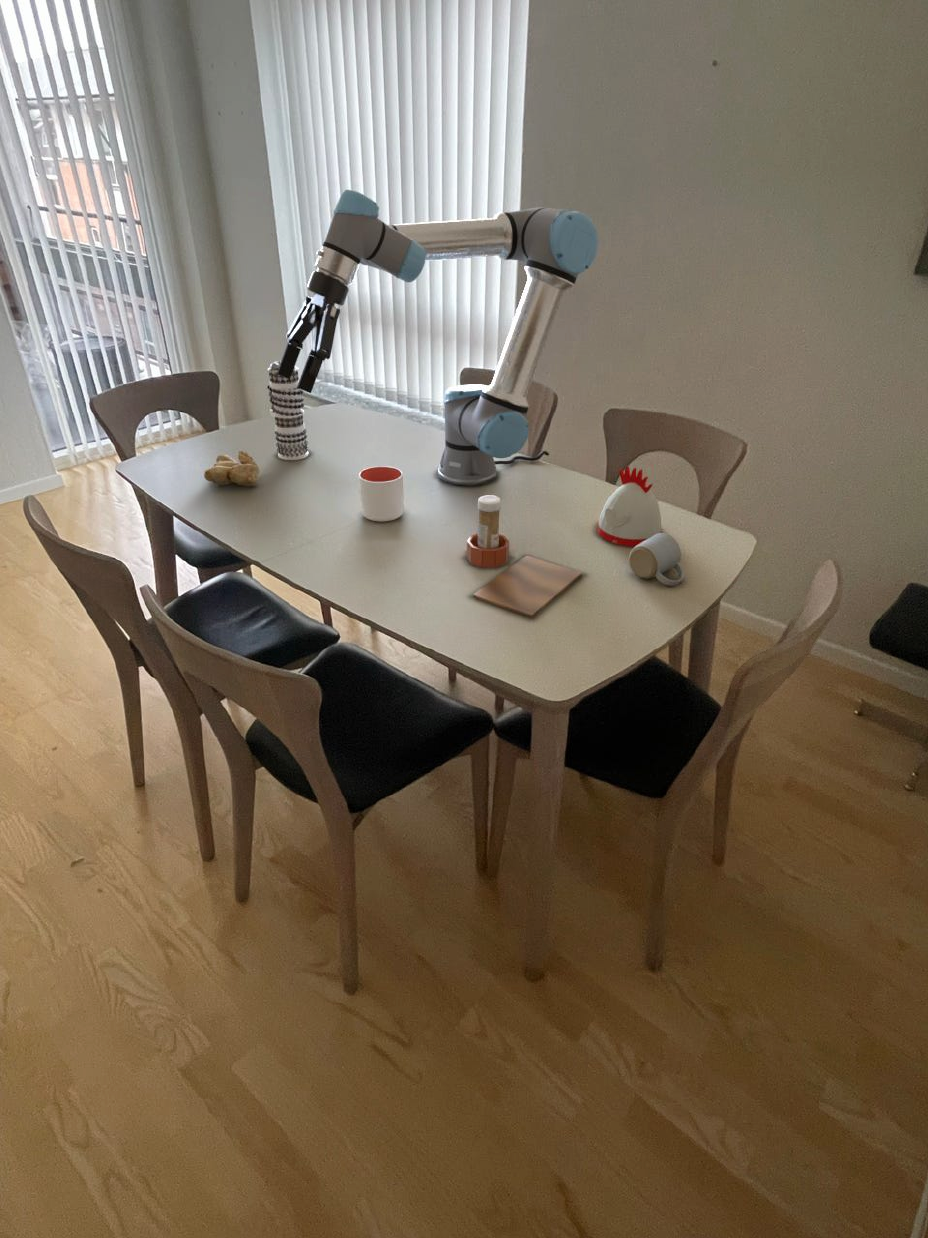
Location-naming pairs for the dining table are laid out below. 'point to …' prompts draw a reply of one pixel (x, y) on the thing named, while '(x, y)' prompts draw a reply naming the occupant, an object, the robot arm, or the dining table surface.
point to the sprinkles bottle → (488, 522)
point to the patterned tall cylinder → (287, 414)
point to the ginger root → (233, 470)
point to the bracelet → (487, 553)
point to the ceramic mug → (657, 558)
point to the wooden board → (528, 586)
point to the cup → (381, 493)
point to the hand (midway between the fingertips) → (293, 383)
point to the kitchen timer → (630, 512)
